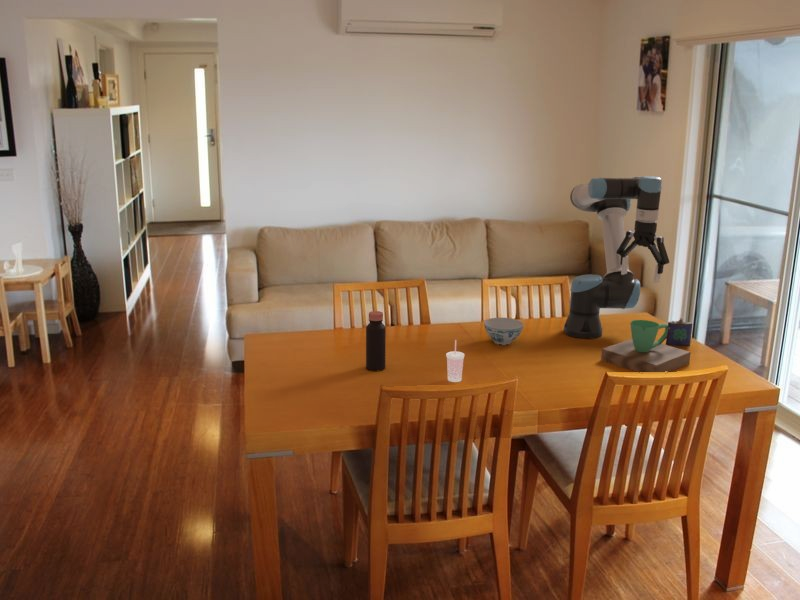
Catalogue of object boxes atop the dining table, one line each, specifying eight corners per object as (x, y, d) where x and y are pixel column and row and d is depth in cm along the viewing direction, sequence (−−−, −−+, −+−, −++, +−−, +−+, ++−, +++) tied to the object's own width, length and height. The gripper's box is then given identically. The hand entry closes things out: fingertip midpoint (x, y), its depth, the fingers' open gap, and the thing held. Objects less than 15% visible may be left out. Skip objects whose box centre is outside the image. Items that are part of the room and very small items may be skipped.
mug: (636, 355, 267) (639, 327, 265) (622, 347, 277) (625, 320, 274) (674, 353, 271) (677, 326, 268) (658, 345, 280) (661, 318, 278)
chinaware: (530, 344, 293) (531, 324, 291) (501, 351, 284) (502, 331, 282) (504, 333, 305) (505, 315, 302) (475, 340, 296) (476, 321, 294)
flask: (689, 343, 295) (692, 317, 292) (691, 346, 292) (694, 319, 289) (664, 343, 295) (667, 316, 292) (667, 345, 292) (669, 319, 289)
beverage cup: (462, 383, 252) (464, 343, 249) (444, 382, 254) (445, 342, 250) (464, 376, 258) (465, 337, 254) (446, 375, 259) (447, 336, 256)
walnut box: (600, 361, 276) (602, 348, 275) (635, 349, 290) (636, 336, 288) (654, 379, 260) (656, 365, 259) (689, 365, 274) (690, 351, 272)
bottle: (383, 364, 269) (384, 309, 264) (386, 371, 263) (387, 315, 258) (364, 365, 268) (364, 310, 263) (367, 372, 262) (367, 316, 257)
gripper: (610, 216, 278) (605, 272, 284) (672, 227, 260) (665, 287, 266) (622, 213, 283) (616, 269, 289) (684, 224, 265) (676, 283, 271)
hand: (640, 278), depth 278 cm, fingers open, 13 cm apart
